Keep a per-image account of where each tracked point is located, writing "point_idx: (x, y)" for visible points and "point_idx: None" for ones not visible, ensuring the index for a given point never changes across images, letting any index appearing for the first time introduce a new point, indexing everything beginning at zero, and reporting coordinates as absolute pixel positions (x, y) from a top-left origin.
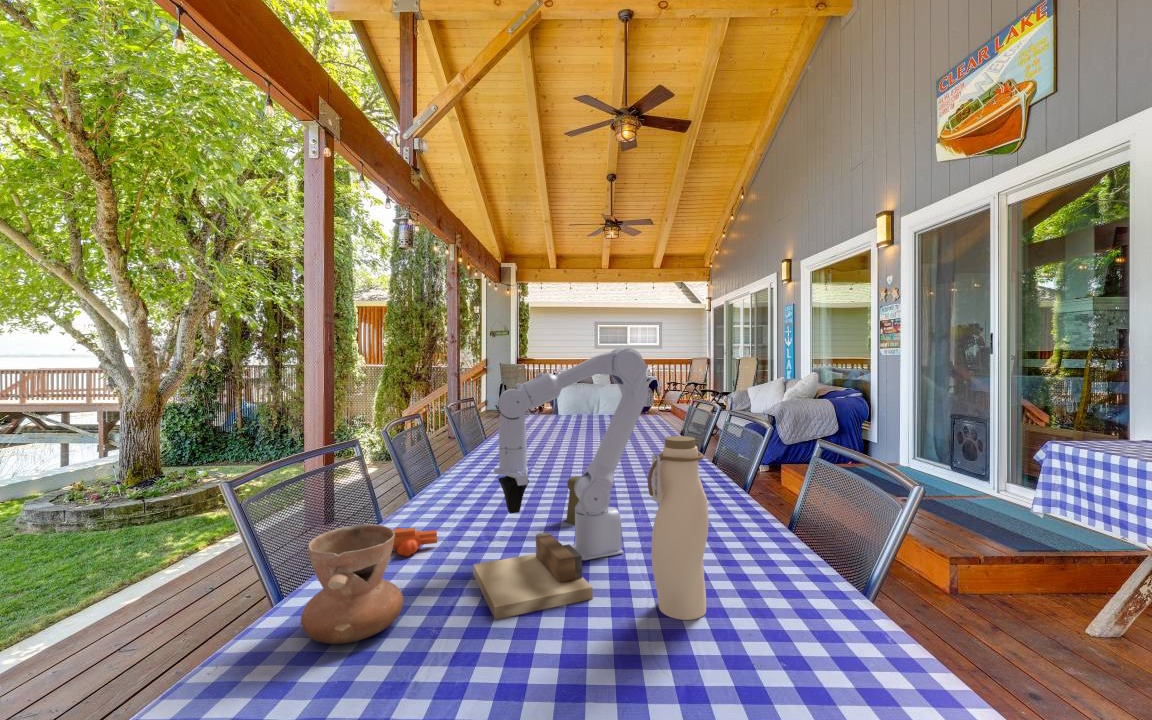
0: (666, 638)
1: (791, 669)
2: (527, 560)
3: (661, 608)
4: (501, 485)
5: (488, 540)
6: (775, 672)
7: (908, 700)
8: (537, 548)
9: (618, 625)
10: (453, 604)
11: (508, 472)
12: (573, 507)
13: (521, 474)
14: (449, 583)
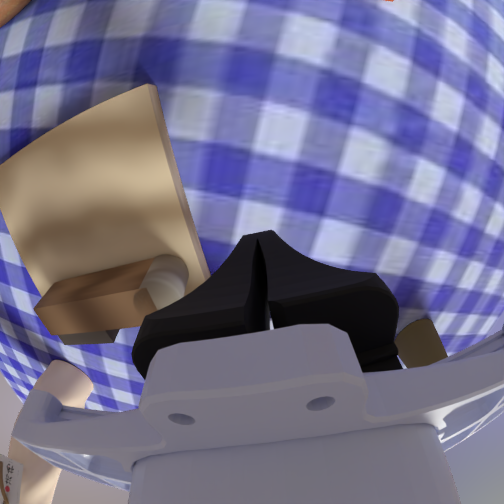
0: (21, 342)
1: (22, 382)
2: (153, 230)
3: (56, 362)
4: (321, 275)
5: (395, 133)
6: (16, 374)
7: (23, 400)
8: (148, 270)
9: (23, 316)
10: (40, 82)
11: (74, 450)
12: (419, 354)
13: (49, 459)
14: (122, 41)
